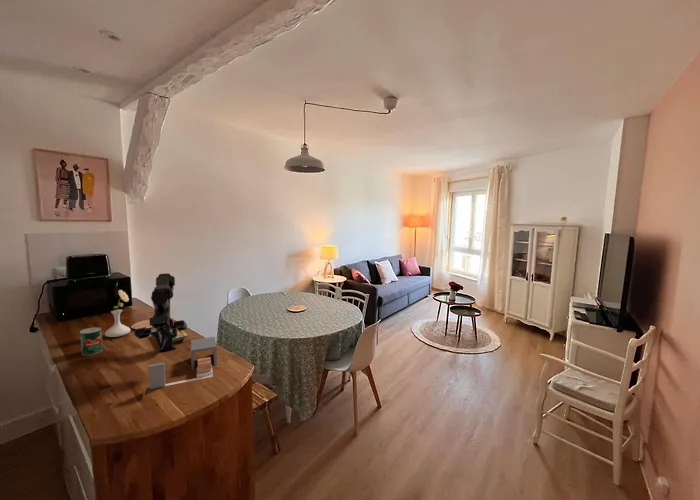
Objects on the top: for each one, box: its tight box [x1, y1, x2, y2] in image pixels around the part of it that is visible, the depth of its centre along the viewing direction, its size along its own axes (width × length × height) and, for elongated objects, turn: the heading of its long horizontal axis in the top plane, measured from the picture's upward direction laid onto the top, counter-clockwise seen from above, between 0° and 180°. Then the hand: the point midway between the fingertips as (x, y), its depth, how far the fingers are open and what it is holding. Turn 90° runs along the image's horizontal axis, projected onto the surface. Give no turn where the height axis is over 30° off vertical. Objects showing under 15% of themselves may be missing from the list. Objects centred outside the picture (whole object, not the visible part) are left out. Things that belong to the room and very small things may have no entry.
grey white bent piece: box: [148, 361, 214, 390], centre depth 123 cm, size 9×22×10 cm, turn 117°
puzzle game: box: [173, 329, 189, 343], centre depth 163 cm, size 12×5×20 cm
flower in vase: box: [104, 289, 131, 338], centre depth 166 cm, size 13×11×25 cm
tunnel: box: [190, 336, 218, 370], centre depth 137 cm, size 12×10×10 cm
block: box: [197, 356, 212, 374], centre depth 127 cm, size 5×5×5 cm
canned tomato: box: [79, 326, 103, 356], centre depth 145 cm, size 8×8×11 cm
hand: (161, 348), depth 126 cm, fingers closed
